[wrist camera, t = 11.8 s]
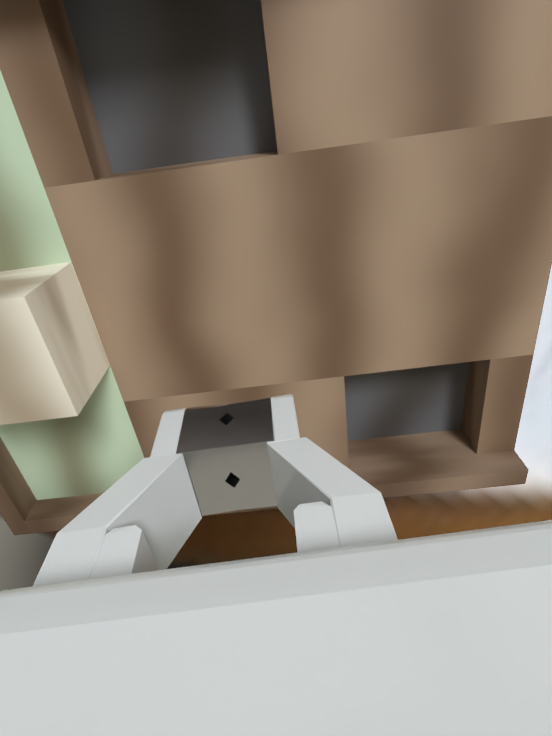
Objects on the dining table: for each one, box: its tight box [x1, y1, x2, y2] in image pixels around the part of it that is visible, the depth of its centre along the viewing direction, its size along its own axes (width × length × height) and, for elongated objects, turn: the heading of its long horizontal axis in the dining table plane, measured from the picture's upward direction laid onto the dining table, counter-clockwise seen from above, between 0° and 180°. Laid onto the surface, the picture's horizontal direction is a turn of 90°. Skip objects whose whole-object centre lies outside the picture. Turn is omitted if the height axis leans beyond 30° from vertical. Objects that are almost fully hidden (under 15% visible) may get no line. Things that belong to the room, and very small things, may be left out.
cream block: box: [0, 262, 110, 425], centre depth 18 cm, size 5×5×4 cm
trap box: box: [0, 0, 552, 535], centre depth 19 cm, size 28×24×4 cm
